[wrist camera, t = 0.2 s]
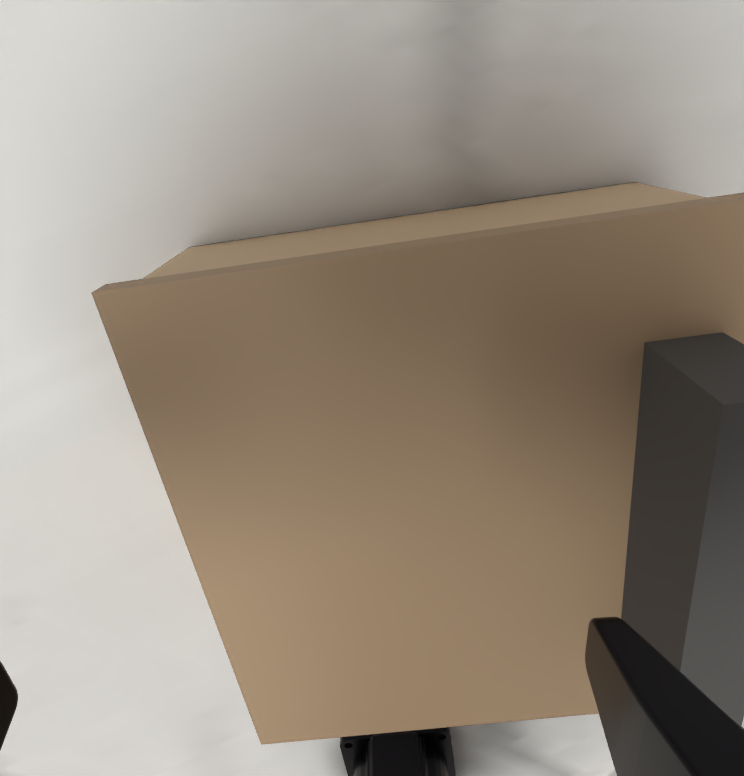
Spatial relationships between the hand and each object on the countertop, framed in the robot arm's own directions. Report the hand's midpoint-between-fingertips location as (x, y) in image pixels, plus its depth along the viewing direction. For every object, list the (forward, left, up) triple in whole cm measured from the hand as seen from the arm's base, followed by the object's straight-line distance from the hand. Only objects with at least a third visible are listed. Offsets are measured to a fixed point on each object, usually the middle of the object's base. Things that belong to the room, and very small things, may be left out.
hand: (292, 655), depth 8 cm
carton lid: (-5, -3, -8) cm, 10 cm away
